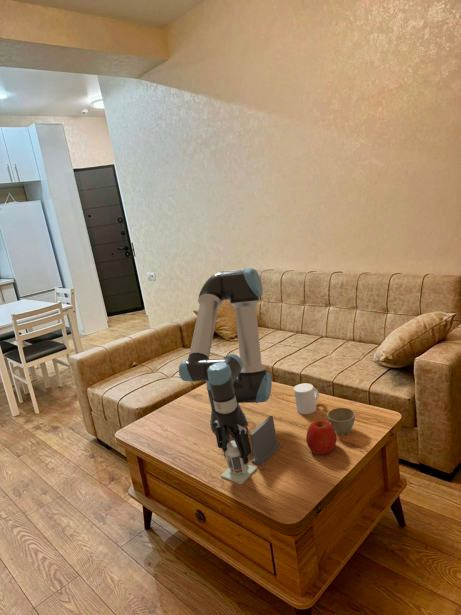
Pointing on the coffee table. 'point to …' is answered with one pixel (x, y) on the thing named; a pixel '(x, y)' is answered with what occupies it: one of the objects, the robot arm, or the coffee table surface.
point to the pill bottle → (234, 457)
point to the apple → (321, 437)
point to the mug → (305, 398)
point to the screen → (264, 441)
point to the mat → (238, 475)
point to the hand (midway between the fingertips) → (238, 468)
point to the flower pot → (341, 420)
